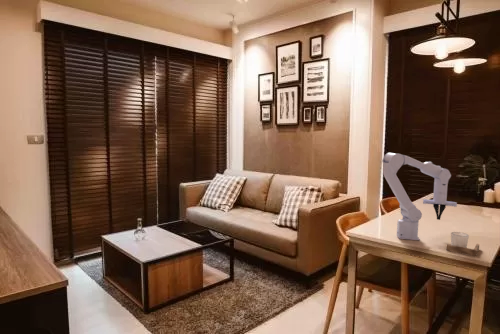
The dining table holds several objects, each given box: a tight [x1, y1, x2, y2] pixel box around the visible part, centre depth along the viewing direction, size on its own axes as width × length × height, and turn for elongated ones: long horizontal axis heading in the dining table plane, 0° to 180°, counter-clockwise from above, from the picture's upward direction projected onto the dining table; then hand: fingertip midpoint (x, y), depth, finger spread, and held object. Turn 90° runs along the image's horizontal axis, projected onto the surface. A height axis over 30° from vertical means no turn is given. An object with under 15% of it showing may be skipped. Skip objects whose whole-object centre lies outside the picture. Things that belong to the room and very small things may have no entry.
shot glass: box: [450, 231, 470, 248], centre depth 152 cm, size 7×7×7 cm
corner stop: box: [446, 243, 480, 257], centre depth 147 cm, size 9×16×2 cm, turn 95°
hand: (438, 219), depth 167 cm, fingers closed
